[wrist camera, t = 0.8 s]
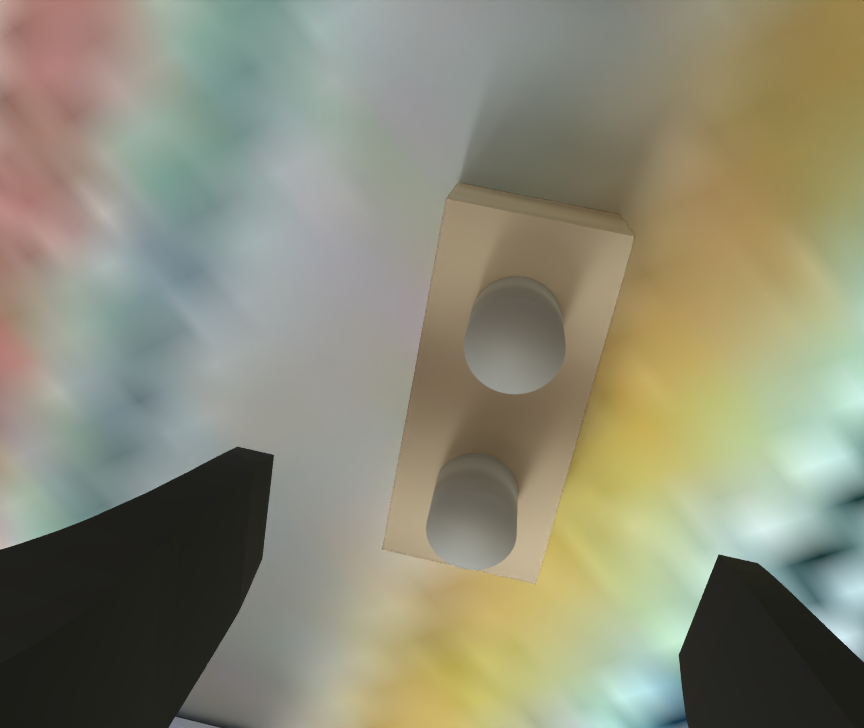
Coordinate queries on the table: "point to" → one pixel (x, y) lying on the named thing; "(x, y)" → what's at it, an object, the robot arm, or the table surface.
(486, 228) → the beige toy brick
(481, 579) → the table surface
